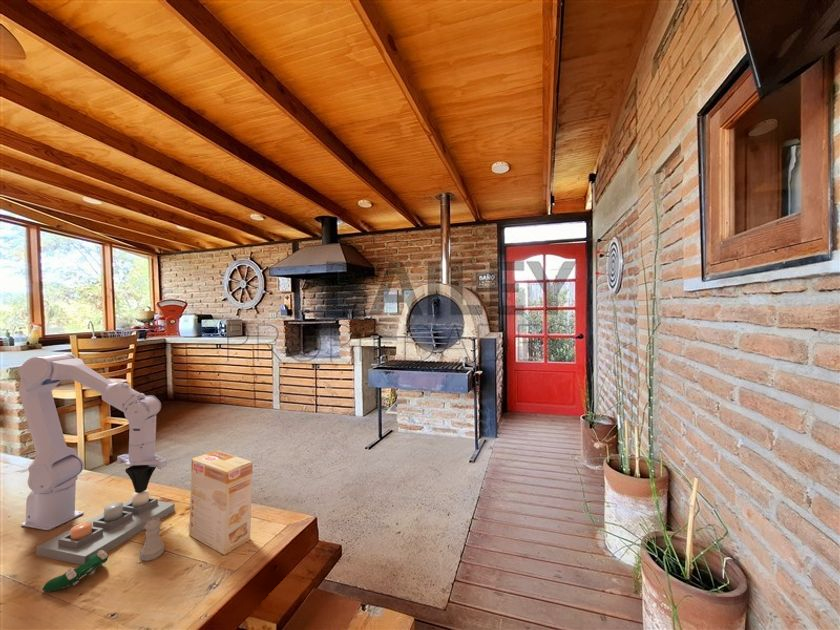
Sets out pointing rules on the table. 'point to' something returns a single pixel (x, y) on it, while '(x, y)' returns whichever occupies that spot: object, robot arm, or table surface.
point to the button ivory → (140, 498)
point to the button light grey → (113, 512)
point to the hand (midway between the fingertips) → (141, 491)
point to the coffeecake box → (220, 500)
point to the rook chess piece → (152, 541)
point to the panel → (104, 533)
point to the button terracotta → (81, 530)
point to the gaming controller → (76, 572)
